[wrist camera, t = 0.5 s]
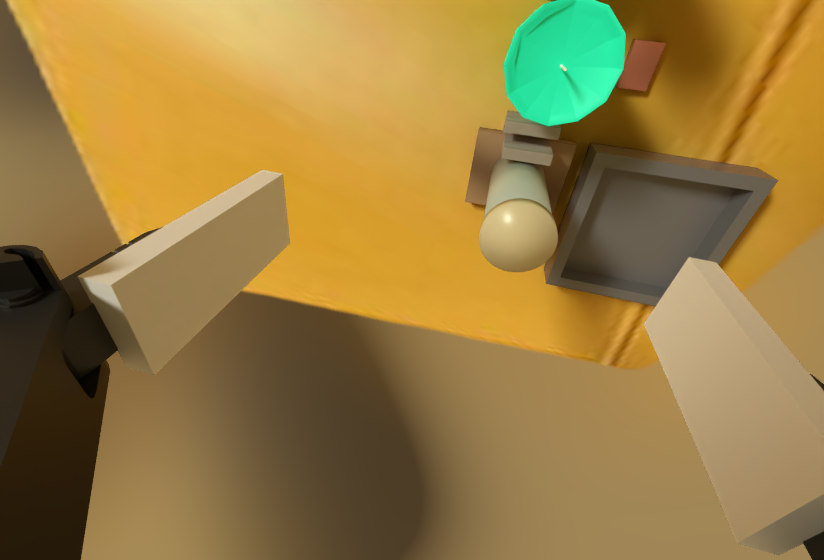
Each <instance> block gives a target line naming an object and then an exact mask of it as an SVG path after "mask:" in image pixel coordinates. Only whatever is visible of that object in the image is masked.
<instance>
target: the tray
mask: <svg viewBox="0 0 824 560" xmlns="http://www.w3.org/2000/svg"><path fill="white" fill-rule="evenodd" d="M777 181H778V180H777V179H775V178H773V177H772V176H770V175H768V174H767V173H765V172H763V171H762V170H760V169H758V168H753V167H747V166H740V165H733V164H727V163H720V162H714V161H707V160H700V159H694V158H687V157H681V156H674V155H668V154H661V153H654V152H648V151H641V150H635V149H628V148H621V147H615V146H608V145H602V144H595V143H590V146H589V149H588V151H587V154H586V157H585V159H584V162H583V165H582V167H581V170H580V173H579V176H578V178H577V181H576V184H575V186H574V189H573V192H572V194H571V197H570V200H569V203H568V205H567V208H566V211H565V213H564V216H563V219H562V221H561V224H560V227H559V230H558V232H557V233H558V242H557V246H556V249H555V251H554V253H553V254H552V256H551V257H550V258H549V259H548V260H547V262H546V265H545V267H544V271H545V280H546V284H550V285H555V286H560V287H564V288H569V289H574V290H579V291H584V292H589V293H594V294H599V295H604V296H609V297H613V298H618V299H623V300H628V301H633V302H638V303H643V304H648V305H653V306H656V305H657V304H658V302H659V301H660V299H661V298H662V296H663V295H664V293H665V292H666V290H667V289H668V287H669V286H670V284H671V283H672V281H673V280H674V278H675V277H676V275H677V274H678V273H679V271H680V270H681V268H682V267H683V265H684V264H685V262H686V261H687V259H688V258H689V257H692V258H697V259H702V260H707V261H711V262H716V263H717V264H718V265H719V263H720V262H721V261H722V259H723V258H724V256H725V255H726V253H727V252H728V251H729V249H730V248H731V246H732V245H733V244H734V242H735V241H736V239H737V238H738V237H739V235H740V234H741V232H742V231H743V229H744V228H745V227H746V225H747V224H748V222H749V221H750V220H751V218H752V217H753V215H754V214H755V212H756V211H757V210H758V208H759V207H760V205H761V204H762V203H763V201H764V200H765V198H766V197H767V196H768V194H769V193H770V191H771V190H772V188H773V187H774V186H775V184H776V183H777Z"/></svg>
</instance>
